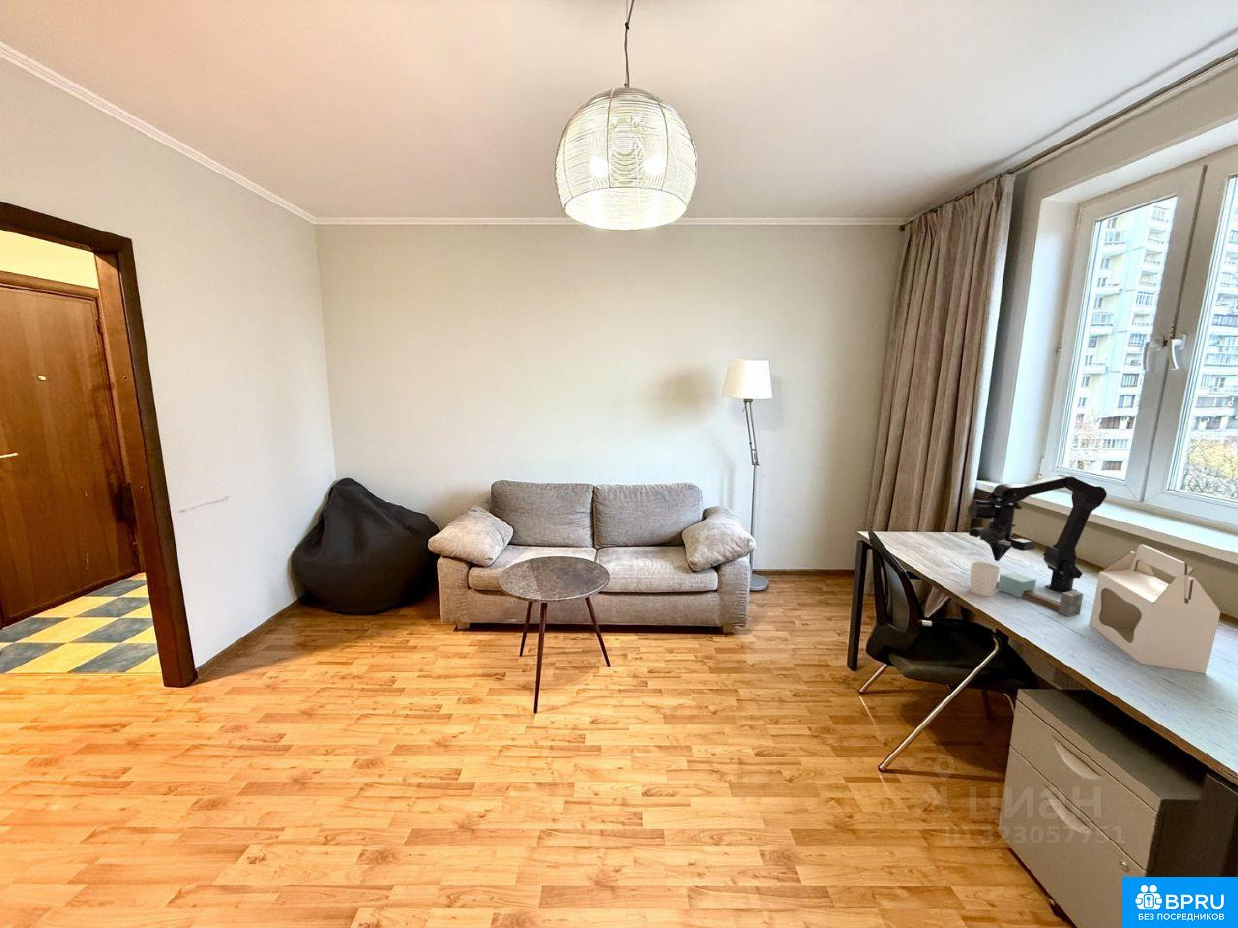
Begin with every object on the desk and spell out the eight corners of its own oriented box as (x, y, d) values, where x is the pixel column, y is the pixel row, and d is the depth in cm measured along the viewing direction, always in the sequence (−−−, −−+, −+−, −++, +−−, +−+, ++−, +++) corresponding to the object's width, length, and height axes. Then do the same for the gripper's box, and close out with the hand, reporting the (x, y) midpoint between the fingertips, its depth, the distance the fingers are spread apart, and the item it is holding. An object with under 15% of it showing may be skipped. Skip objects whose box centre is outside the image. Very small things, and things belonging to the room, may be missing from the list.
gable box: (1207, 674, 120) (1232, 571, 115) (1140, 664, 124) (1161, 564, 119) (1143, 631, 140) (1162, 542, 136) (1088, 624, 145) (1104, 538, 140)
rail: (1004, 585, 172) (1007, 567, 171) (1079, 613, 151) (1083, 593, 150) (993, 587, 170) (995, 569, 169) (1067, 616, 149) (1071, 596, 148)
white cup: (1000, 598, 162) (1005, 571, 160) (975, 596, 164) (979, 569, 162) (988, 588, 170) (991, 562, 168) (963, 586, 171) (967, 560, 169)
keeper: (1011, 586, 170) (1013, 572, 169) (1033, 594, 164) (1035, 579, 163) (998, 589, 168) (1000, 574, 167) (1019, 597, 162) (1022, 582, 161)
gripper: (961, 514, 175) (956, 554, 178) (1016, 529, 158) (1009, 572, 160) (982, 512, 179) (976, 551, 181) (1038, 526, 161) (1031, 569, 164)
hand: (997, 560), depth 172 cm, fingers closed
